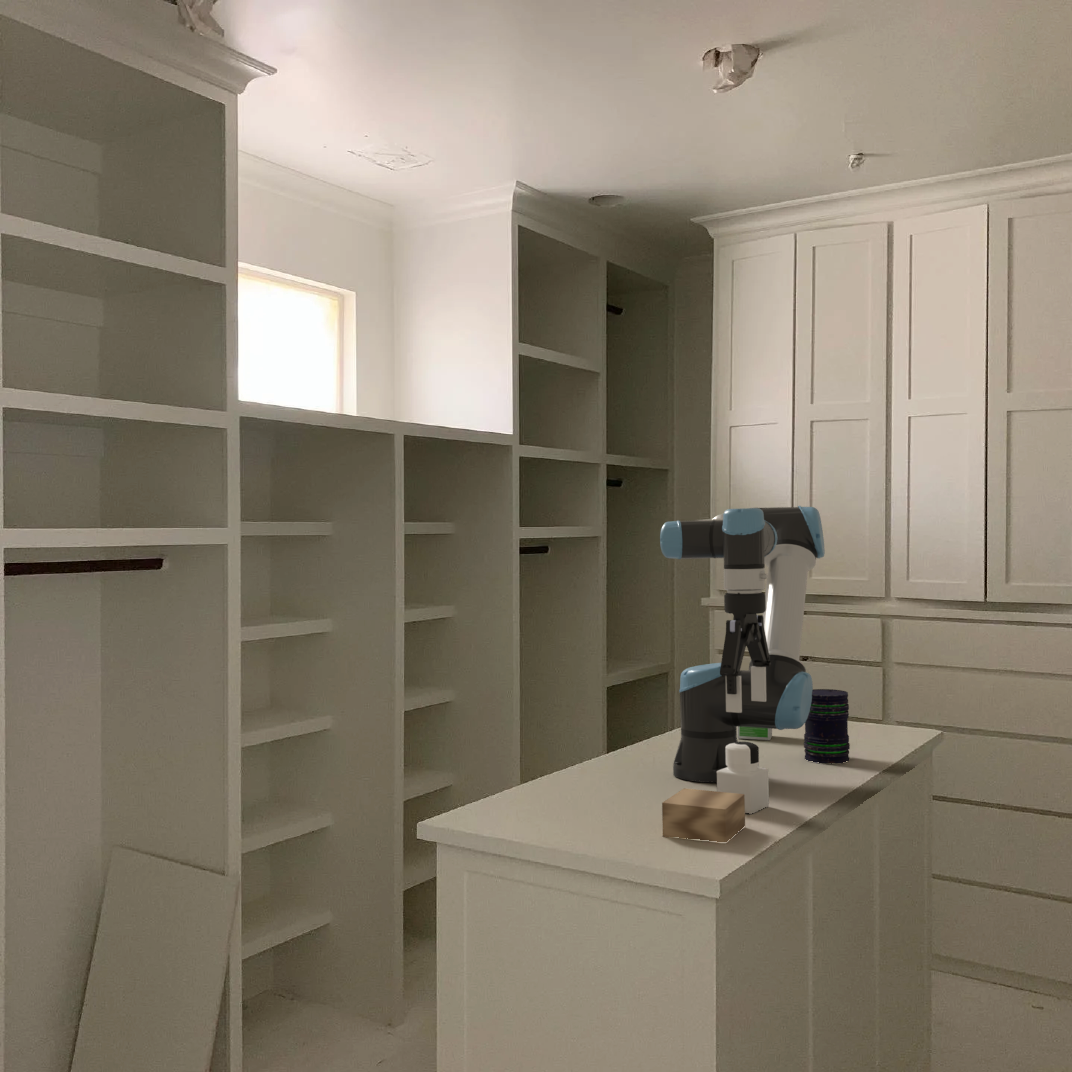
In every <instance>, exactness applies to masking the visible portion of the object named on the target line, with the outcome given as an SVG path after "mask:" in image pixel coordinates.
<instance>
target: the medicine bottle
mask: <svg viewBox="0 0 1072 1072" xmlns="http://www.w3.org/2000/svg"><path fill="white" fill-rule="evenodd" d="M759 749H760V748H759V746H758V745H757V744H755V743H753V742H749V741H738V742H732V743H730V744H728V745H727V746H726V765H727V766H728V767H726V768H724V769H721V770H718V771H717V782H716V791H717V792H727V793H737V794H744V795H745V813H749V814H748V815H753V814H755V813H757V812H759V811H758V810H760V811H762V810H764V809H766V808H769V806H770V790H769V788H770V787H769V780H770V779H769V768H766V767H760V756H759V754H760V750H759ZM765 807H766V808H765ZM763 808H764V809H763ZM761 809H762V810H761ZM752 813H753V814H752Z"/></svg>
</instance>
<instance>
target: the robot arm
mask: <svg viewBox="0 0 1072 1072" xmlns="http://www.w3.org/2000/svg"><path fill="white" fill-rule="evenodd" d="M820 514H821V513H820V512H819V510H818V508H816V507H814V506H802V505H797V506H790V507H789V506H785V507H784V506H781V507H748V508H745V507H744V508H728V509H725V510H724V511H723V513H720V514H717V515H715V517H713V518H706V519H704V518H703V519H695V520H673V521H671V520H670V521H666V522H664V524H663V525H662V527H661V528H660V534H659V535H660V536H659V539H660V540H659V542H660V550H661V553H662V555H663V556H664V557H665V558H667V559H674V560H675V559H677V560H682V559H683V560H687V559H688V560H690V559H693V560H694V559H723V589H724V591H726V593H724V595H723V601H724V602H723V603H724V606H723V609H724V612H725V613H726V614H730V615H731V614H732V615H733V616H732V617H733V618H732V620H731V619H727V620H726V621H725V636H724V644H723V649H722V657H721V662H714V663H706V664H699V665H695V666H690V667H687V668H685V669H684V670H683V671H682V672H681V673H680V677H679V678H680V679H679V681H680V682H679V683H680V684H679V685H680V686H679V690H678V691H679V692H678V693H679V702H680V703H679V704H680V705H679V707H680V740H679V744H678V746H677V751H676V753H675V758H674V760H673V762H672V767H673V769H672V770H673V776H674V777H676V778H678V779H680V780H685V781H689V782H698V783H717V771H718V770H721V769H724V768H726V767H728V766H727V765H726V746H727V745H728V744H730V743H732V742H739V741H738V738H737V726H738V727H755V728H771V729H772V730H779V731H783V730H797V729H800V728H801V727H803V726H805V722H806V720H807V718H808V715H809V711H810V707H811V701H812V690H813V688H814V687H813V677H812V675H811V674H810V673H809V672H807V671H806V670H807V669H806V666H805V665H804V663H803V662H802V661H801V660H800V657H801V644H802V634H803V627H804V626H803V625H804V624H803V623H804V615H805V604H806V591H807V584H808V574H809V572H810V571H811V570H813V569H814V567H815V566H816V563H817V559H821V558H824V557H825V551H826V550H825V539H824V533H823V531H824V530H823V525H822V519H821V515H820ZM765 567H767V573H766V571H765V570H766V569H765ZM764 590H765V592H763V591H764ZM759 614H760V615H759ZM746 648H747V650H748V655H749V658H750V660H749V666H748V670H747V669H746V670H741V667H742V663H743V659H744V655H745V651H746Z"/></svg>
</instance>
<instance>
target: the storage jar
mask: <svg viewBox="0 0 1072 1072" xmlns="http://www.w3.org/2000/svg"><path fill="white" fill-rule="evenodd" d="M848 697H849V692H848V691H845V690H841V689H829V688H818V689H817V688H815V689H813V690H812V701H811V707H810V711H809V715H808V718H807V720H806V722H805V724H804V732H805V733H804V734H803V738H804V739H803V740H804V742H803V748H804V754H805V755H804V760H805V759H806V760H808V761H807V762H809V761H813V762H819V763H818V764H820V763H831V764H830V765H833V764H832V763H841V764H844V763H843V762H846V761H848V762H850V756H849V755H850V751H849V750H850V745H851V744H850V736H849V729H848V728H849V727H848V725H849V724H848V723H849V722H848V720H849V715H850V714H849V710H850V706H849V698H848ZM806 760H805V761H806ZM813 762H812V763H813ZM846 763H847V762H846Z"/></svg>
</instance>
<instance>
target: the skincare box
mask: <svg viewBox="0 0 1072 1072" xmlns="http://www.w3.org/2000/svg"><path fill="white" fill-rule="evenodd" d="M772 736H773V729H771V728H755V727H738V726H737V739H741V740H754V741H755V740H757V741H759V740H760V741H771V738H772Z"/></svg>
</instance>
